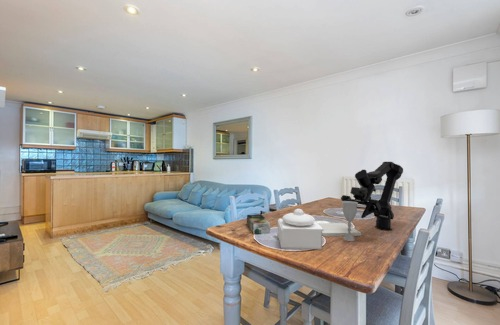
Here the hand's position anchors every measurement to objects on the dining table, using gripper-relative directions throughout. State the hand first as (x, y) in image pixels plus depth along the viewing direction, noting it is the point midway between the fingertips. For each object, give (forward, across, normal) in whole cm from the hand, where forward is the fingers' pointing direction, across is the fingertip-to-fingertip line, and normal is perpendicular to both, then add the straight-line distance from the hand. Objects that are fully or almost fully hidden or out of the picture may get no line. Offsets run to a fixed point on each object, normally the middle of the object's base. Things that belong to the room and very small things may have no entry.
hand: (352, 215), depth 114 cm
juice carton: (+30, -38, -13) cm, 50 cm away
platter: (+5, -13, +10) cm, 17 cm away
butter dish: (+27, -11, -10) cm, 31 cm away
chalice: (+10, 0, +6) cm, 12 cm away
